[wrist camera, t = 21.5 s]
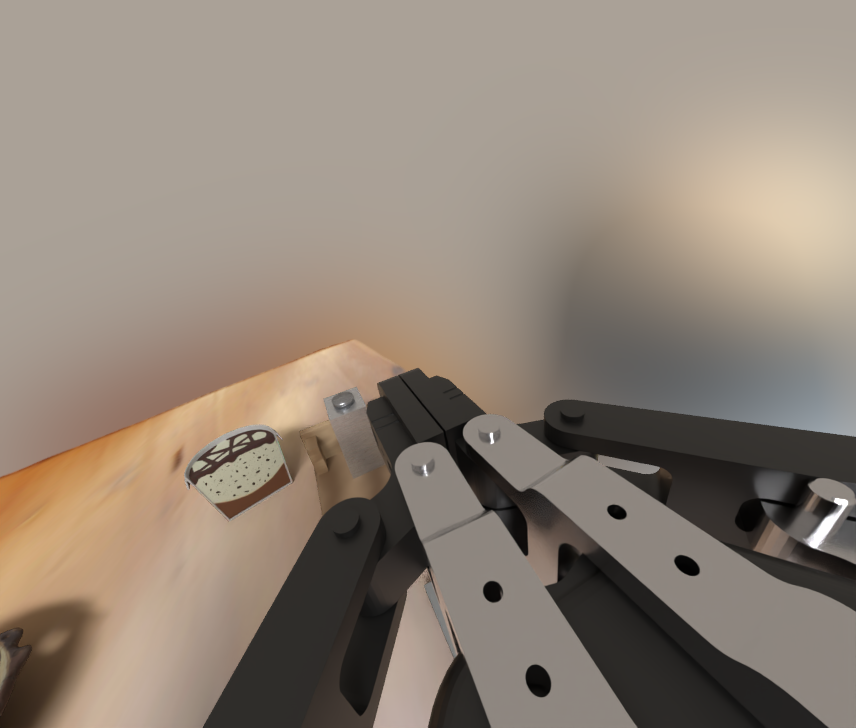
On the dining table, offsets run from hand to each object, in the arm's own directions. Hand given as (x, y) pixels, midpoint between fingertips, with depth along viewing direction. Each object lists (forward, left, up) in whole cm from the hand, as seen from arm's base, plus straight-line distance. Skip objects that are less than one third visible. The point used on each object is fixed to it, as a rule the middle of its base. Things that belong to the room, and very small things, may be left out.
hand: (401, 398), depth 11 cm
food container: (-18, +36, -30) cm, 50 cm away
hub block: (-1, +31, -29) cm, 42 cm away
